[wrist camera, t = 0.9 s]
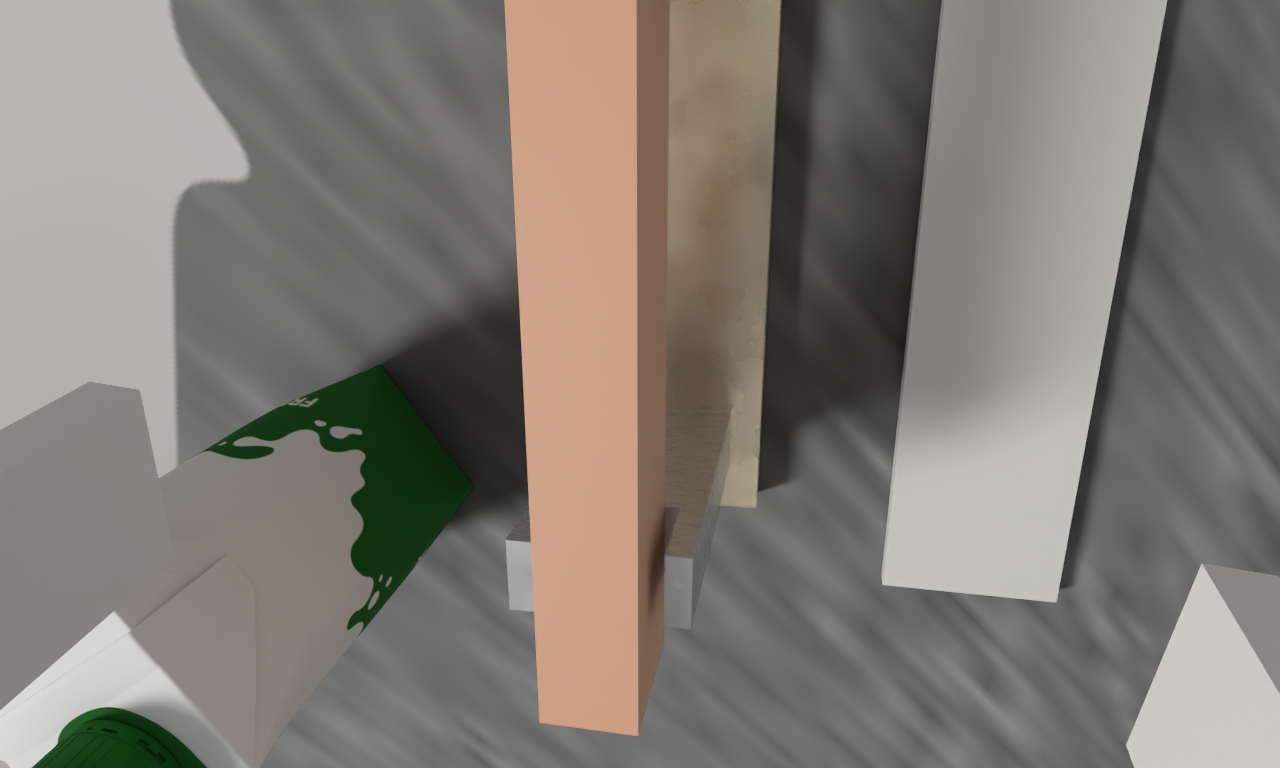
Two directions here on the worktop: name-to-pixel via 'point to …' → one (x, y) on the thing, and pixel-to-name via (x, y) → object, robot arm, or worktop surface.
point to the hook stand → (709, 283)
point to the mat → (1013, 285)
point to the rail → (593, 343)
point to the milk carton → (249, 588)
